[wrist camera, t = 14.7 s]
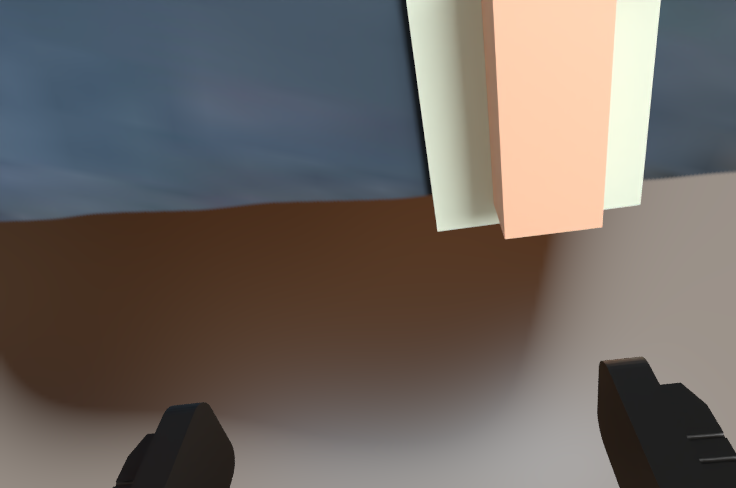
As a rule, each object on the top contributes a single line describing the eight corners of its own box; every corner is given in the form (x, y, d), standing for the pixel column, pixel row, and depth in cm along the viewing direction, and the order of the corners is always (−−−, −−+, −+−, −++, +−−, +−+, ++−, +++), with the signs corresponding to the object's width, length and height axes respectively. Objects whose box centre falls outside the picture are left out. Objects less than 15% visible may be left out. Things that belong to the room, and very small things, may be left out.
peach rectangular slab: (478, -38, 25) (491, -29, 22) (589, -59, 24) (619, -53, 21) (493, 203, 32) (505, 239, 28) (580, 192, 31) (602, 227, 28)
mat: (398, -60, 25) (397, -59, 25) (666, -117, 23) (672, -118, 23) (436, 226, 33) (437, 231, 33) (636, 200, 32) (640, 204, 31)
